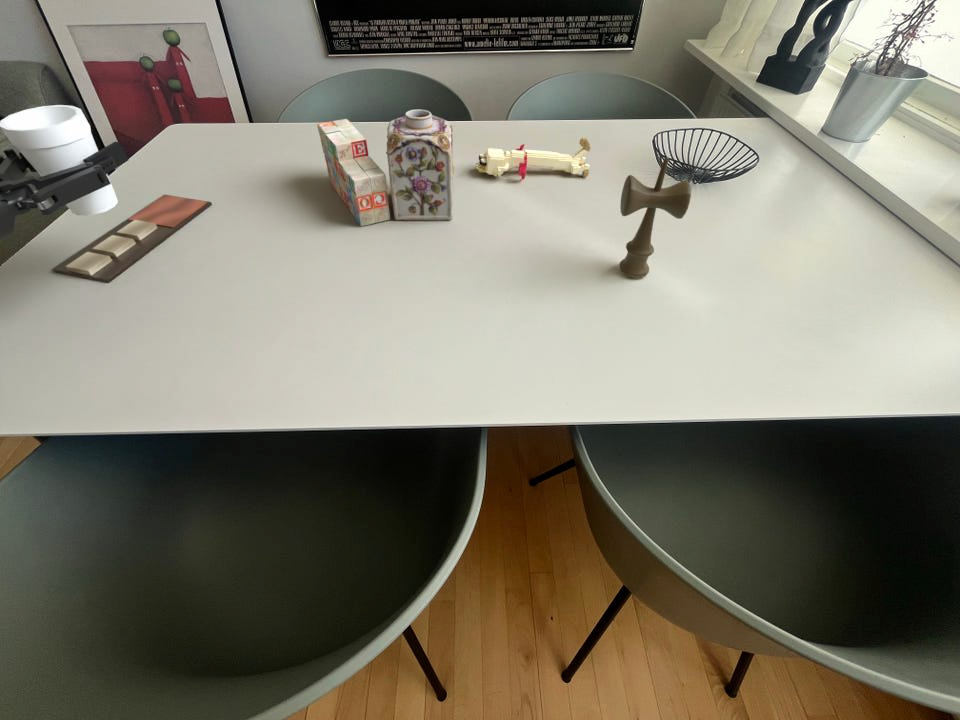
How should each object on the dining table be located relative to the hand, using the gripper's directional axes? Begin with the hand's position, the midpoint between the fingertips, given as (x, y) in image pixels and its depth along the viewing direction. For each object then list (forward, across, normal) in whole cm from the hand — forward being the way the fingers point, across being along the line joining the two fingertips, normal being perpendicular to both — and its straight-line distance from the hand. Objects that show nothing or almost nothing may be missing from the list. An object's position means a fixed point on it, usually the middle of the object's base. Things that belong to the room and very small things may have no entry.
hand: (91, 147), depth 73 cm
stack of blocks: (+25, +30, -18) cm, 43 cm away
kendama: (+10, +86, -18) cm, 88 cm away
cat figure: (+44, +64, -18) cm, 80 cm away
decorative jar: (+25, +45, -18) cm, 54 cm away
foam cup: (-5, 0, -7) cm, 9 cm away
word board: (+4, -4, -18) cm, 19 cm away
